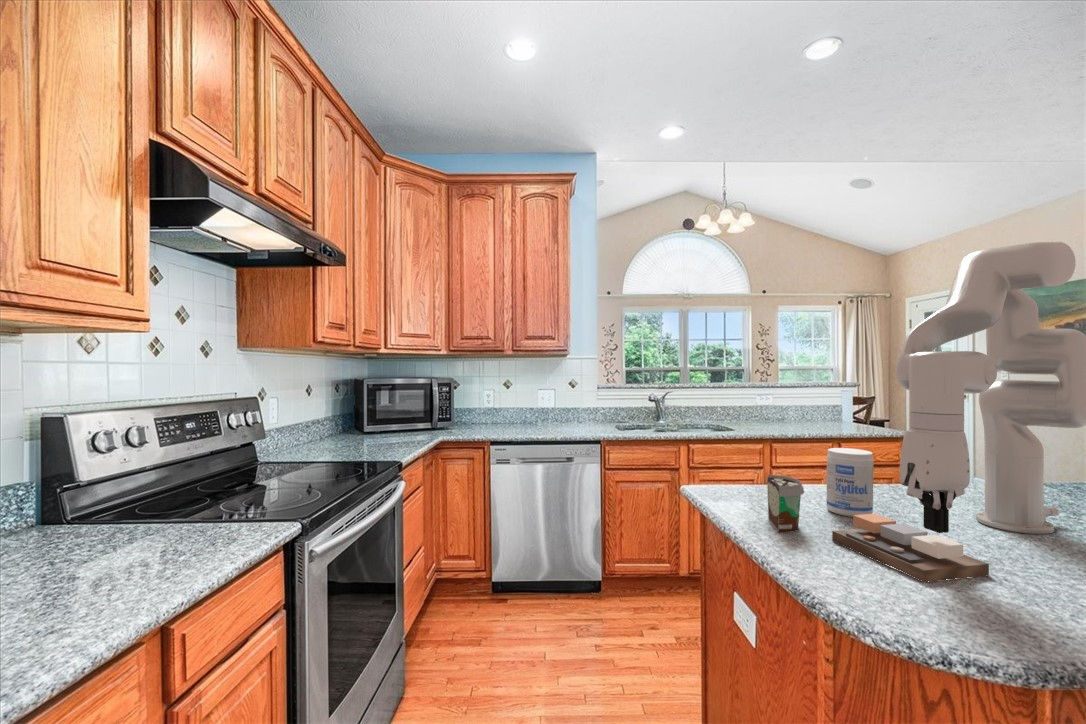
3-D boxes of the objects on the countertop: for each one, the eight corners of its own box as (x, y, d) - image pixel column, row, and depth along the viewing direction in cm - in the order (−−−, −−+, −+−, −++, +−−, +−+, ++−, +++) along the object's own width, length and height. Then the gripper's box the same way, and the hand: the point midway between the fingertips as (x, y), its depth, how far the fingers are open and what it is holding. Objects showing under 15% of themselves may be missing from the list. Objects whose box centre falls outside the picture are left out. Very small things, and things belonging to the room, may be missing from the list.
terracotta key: (874, 523, 104) (874, 513, 104) (896, 531, 99) (896, 521, 99) (853, 525, 103) (853, 515, 103) (873, 533, 98) (873, 522, 98)
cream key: (935, 545, 91) (935, 534, 91) (963, 556, 86) (963, 544, 86) (911, 548, 90) (911, 536, 90) (938, 558, 86) (938, 546, 86)
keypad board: (887, 536, 106) (887, 522, 106) (988, 575, 86) (988, 558, 86) (832, 540, 103) (832, 526, 103) (924, 582, 84) (924, 564, 84)
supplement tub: (836, 517, 119) (835, 453, 119) (820, 506, 128) (819, 447, 128) (881, 519, 117) (881, 454, 117) (862, 507, 127) (861, 447, 127)
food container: (812, 536, 106) (812, 488, 106) (780, 534, 107) (780, 486, 107) (795, 518, 118) (795, 475, 118) (766, 517, 119) (766, 474, 119)
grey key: (902, 533, 98) (902, 523, 98) (927, 543, 93) (927, 531, 93) (880, 535, 97) (880, 525, 97) (904, 545, 92) (903, 533, 92)
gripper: (950, 420, 94) (950, 521, 93) (880, 421, 91) (880, 526, 90) (994, 425, 86) (994, 535, 86) (919, 426, 83) (919, 540, 83)
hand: (935, 530), depth 88 cm, fingers closed
